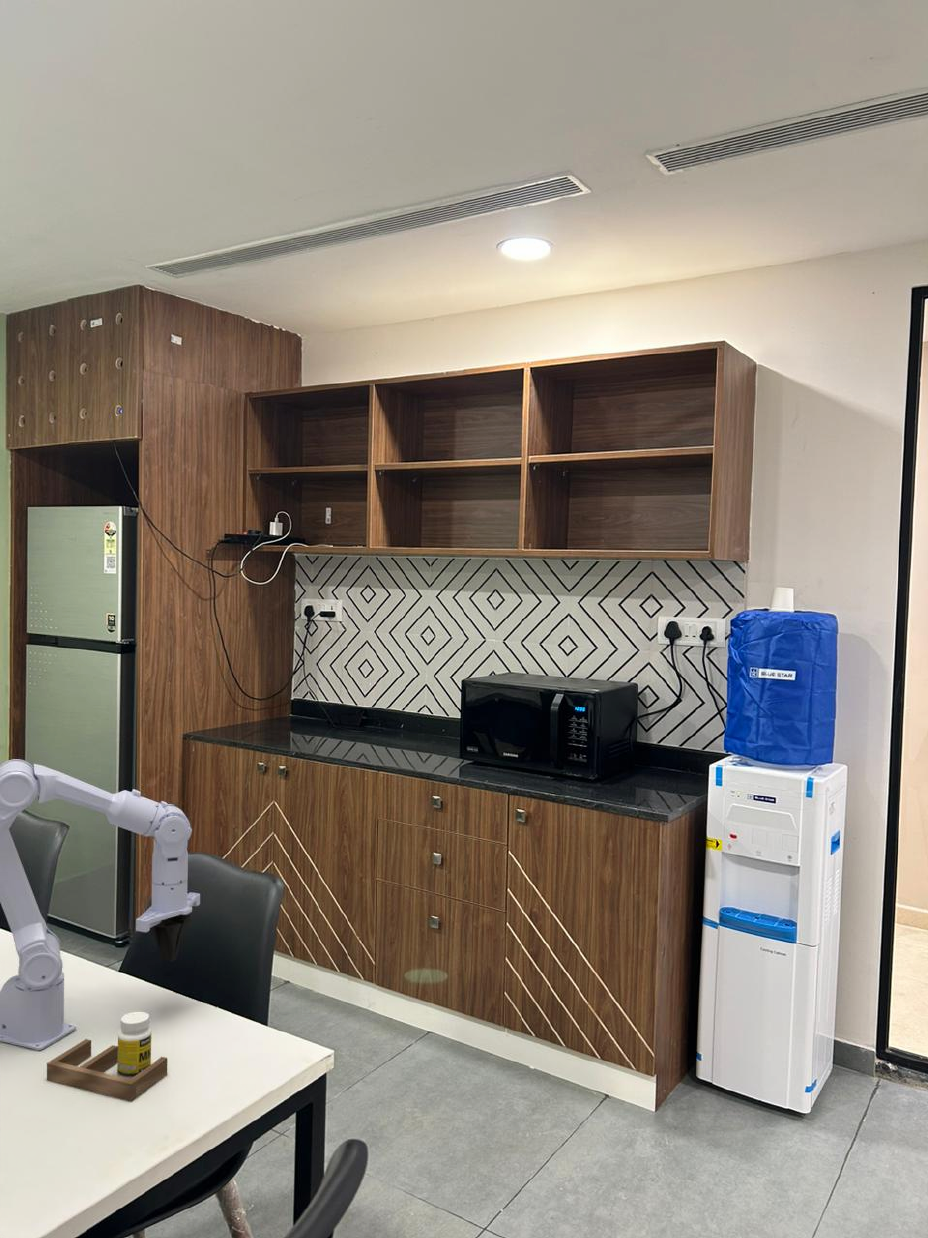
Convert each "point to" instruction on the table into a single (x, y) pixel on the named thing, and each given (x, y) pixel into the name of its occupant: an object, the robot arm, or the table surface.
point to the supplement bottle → (134, 1045)
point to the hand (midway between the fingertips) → (168, 960)
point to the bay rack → (93, 1076)
